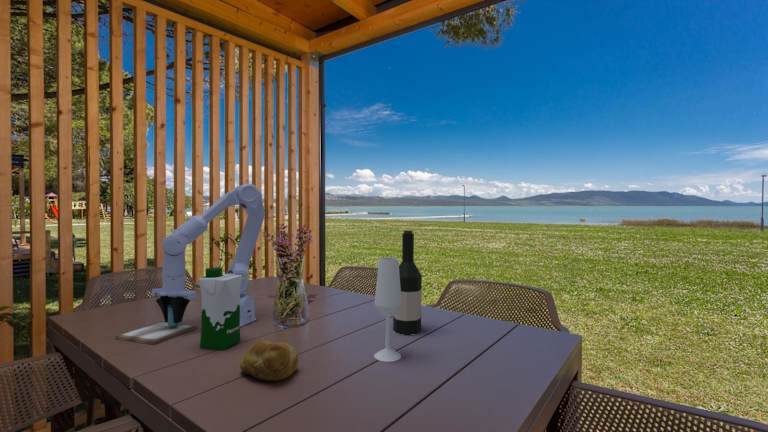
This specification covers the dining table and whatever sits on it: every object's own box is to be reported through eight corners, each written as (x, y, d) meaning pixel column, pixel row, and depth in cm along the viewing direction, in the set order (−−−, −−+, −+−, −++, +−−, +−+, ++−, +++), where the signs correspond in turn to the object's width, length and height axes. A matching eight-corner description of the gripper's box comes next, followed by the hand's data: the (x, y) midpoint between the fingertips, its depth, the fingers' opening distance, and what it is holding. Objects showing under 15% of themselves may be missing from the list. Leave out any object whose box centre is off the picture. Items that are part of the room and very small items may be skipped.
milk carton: (216, 337, 100) (217, 265, 100) (245, 340, 98) (246, 267, 98) (194, 349, 91) (194, 270, 91) (225, 352, 90) (226, 272, 89)
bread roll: (229, 377, 76) (229, 339, 76) (261, 360, 85) (261, 326, 85) (277, 389, 71) (278, 349, 71) (306, 370, 80) (307, 334, 80)
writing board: (196, 328, 107) (196, 325, 107) (154, 344, 94) (154, 341, 94) (161, 323, 111) (161, 320, 111) (115, 338, 98) (115, 335, 98)
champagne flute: (405, 354, 89) (407, 258, 89) (392, 363, 84) (394, 261, 83) (382, 348, 93) (383, 256, 93) (368, 357, 87) (369, 259, 87)
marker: (181, 325, 106) (181, 303, 106) (173, 328, 103) (173, 306, 103) (173, 324, 107) (173, 303, 106) (165, 327, 104) (165, 305, 104)
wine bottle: (420, 327, 111) (422, 230, 111) (421, 336, 103) (422, 231, 102) (394, 325, 112) (395, 229, 112) (392, 334, 104) (393, 231, 103)
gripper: (142, 276, 103) (141, 323, 103) (181, 279, 99) (181, 328, 99) (163, 272, 110) (163, 316, 110) (201, 275, 105) (201, 321, 105)
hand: (173, 321), depth 105 cm, fingers closed on marker, 3 cm apart
